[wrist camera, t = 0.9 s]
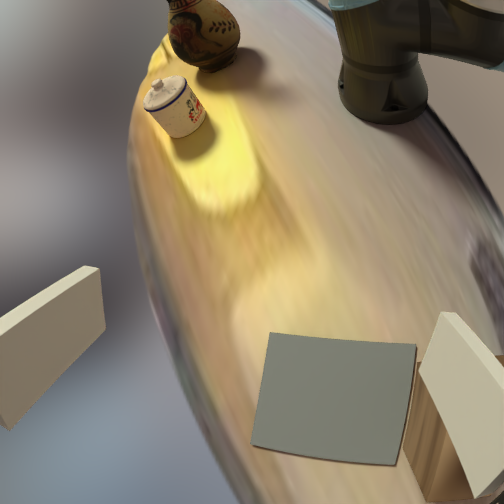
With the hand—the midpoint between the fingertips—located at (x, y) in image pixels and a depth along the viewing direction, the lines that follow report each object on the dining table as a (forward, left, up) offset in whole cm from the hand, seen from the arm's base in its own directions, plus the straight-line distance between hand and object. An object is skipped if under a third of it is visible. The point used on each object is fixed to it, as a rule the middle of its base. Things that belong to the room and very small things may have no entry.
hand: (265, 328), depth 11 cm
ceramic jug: (-32, -58, -26) cm, 71 cm away
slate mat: (+4, +4, -25) cm, 26 cm away
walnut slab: (-3, +13, -25) cm, 28 cm away
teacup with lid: (-15, -48, -26) cm, 56 cm away
